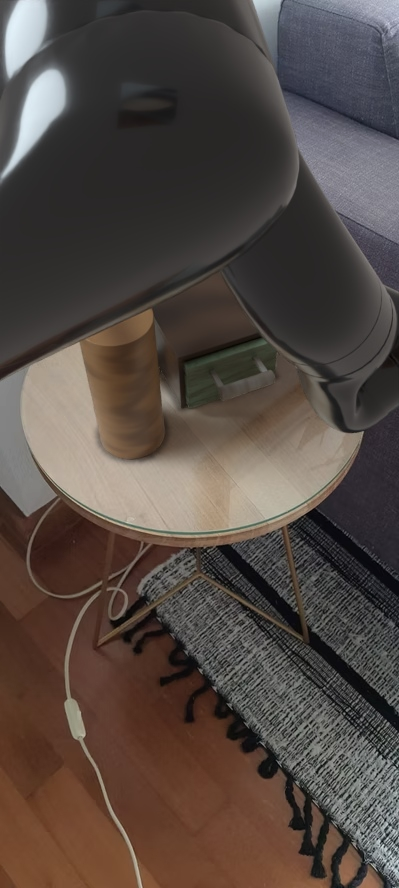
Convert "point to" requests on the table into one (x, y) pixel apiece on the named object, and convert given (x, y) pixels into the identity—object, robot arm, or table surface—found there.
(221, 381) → the drawer
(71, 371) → the table surface
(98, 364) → the stand
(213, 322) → the cabinet
